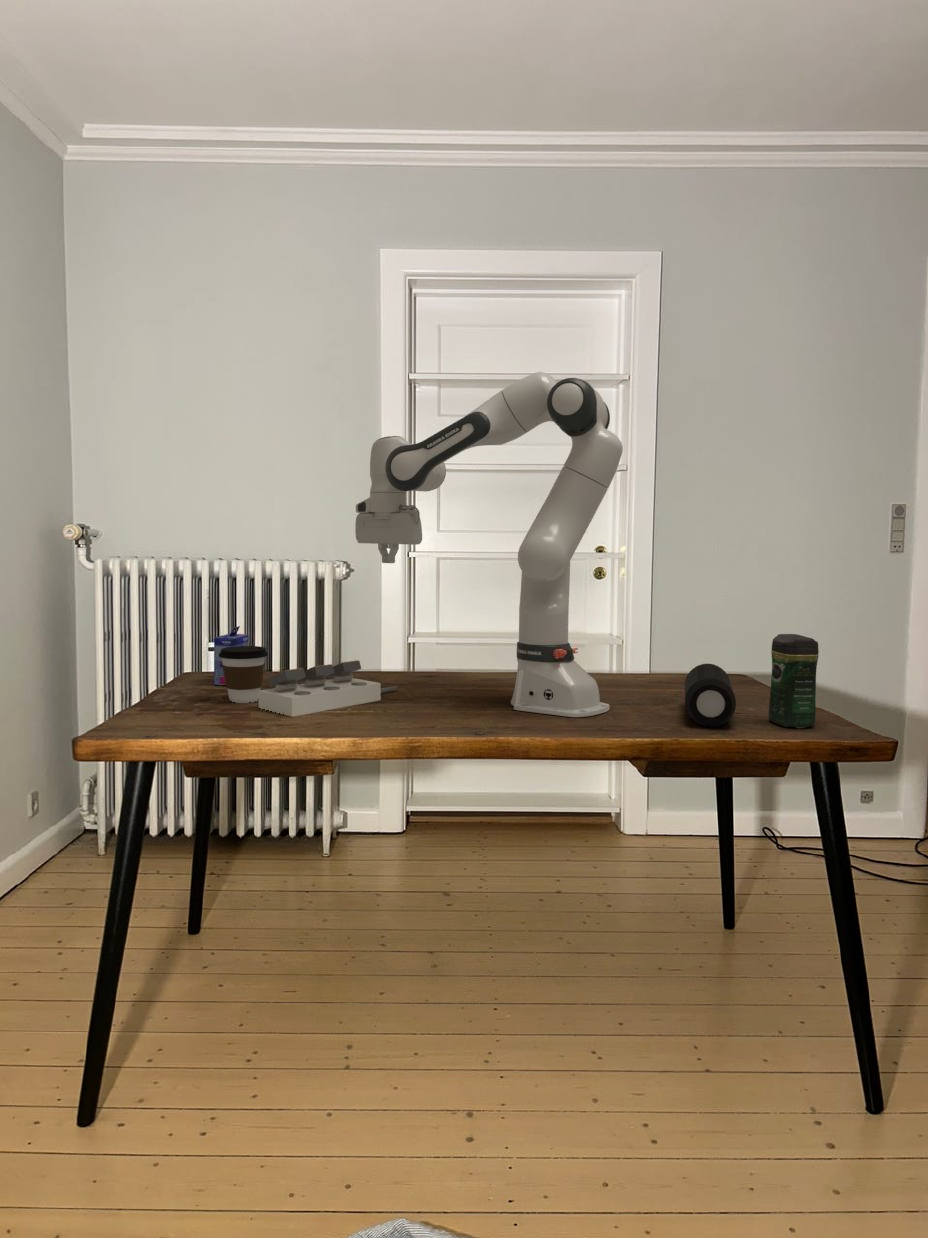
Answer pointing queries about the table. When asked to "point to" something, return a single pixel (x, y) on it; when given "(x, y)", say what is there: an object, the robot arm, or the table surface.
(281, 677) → the rocker
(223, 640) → the ink cartridge box
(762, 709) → the table surface
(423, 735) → the table surface
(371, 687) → the power strip
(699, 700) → the portable speaker
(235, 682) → the coffee cup
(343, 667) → the rocker
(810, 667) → the coffee jar
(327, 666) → the rocker
